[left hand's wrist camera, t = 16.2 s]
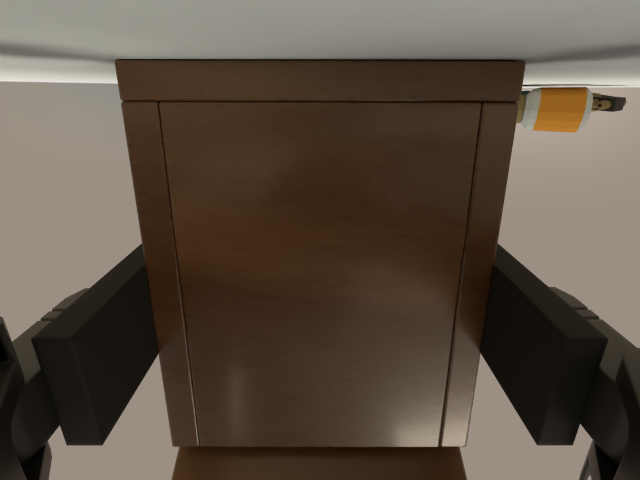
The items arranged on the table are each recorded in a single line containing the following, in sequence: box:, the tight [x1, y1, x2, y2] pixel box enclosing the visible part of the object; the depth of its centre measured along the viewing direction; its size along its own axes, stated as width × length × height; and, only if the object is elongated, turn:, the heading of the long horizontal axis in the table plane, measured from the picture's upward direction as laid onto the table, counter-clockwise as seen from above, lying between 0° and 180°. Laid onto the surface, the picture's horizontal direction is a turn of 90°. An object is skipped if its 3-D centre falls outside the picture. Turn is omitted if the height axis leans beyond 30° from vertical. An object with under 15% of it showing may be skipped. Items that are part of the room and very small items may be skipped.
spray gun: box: [516, 87, 626, 132], centre depth 43 cm, size 4×17×15 cm
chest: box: [115, 60, 526, 447], centre depth 19 cm, size 18×9×11 cm, turn 0°
